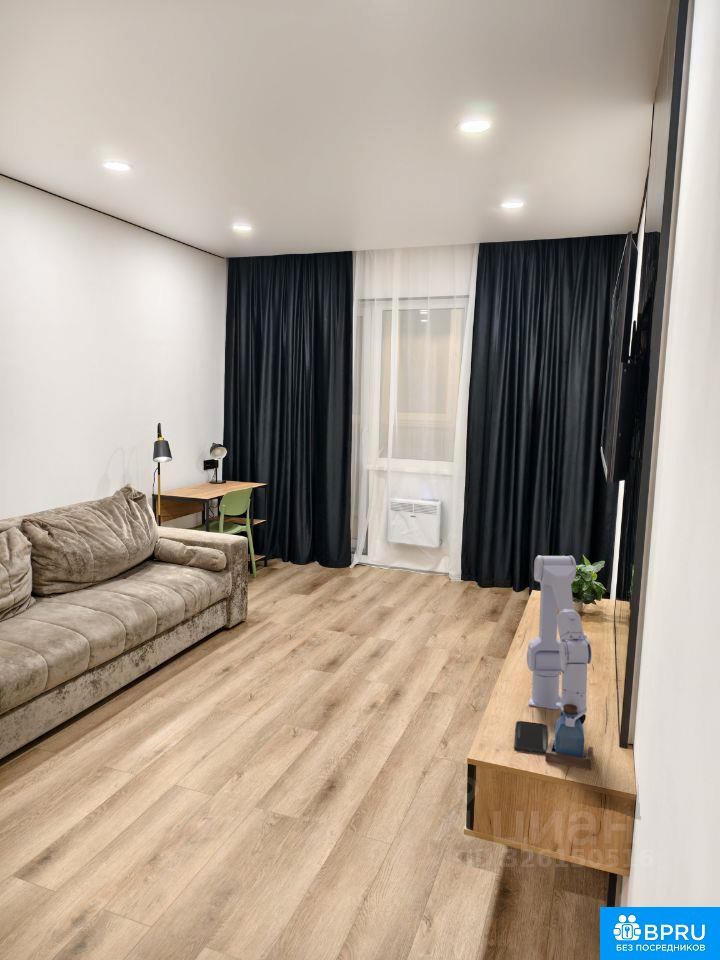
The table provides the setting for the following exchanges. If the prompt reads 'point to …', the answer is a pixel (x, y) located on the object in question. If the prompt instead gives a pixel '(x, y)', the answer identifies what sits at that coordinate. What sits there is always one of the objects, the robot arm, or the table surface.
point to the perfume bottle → (569, 733)
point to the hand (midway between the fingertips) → (572, 743)
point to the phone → (530, 737)
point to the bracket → (568, 757)
